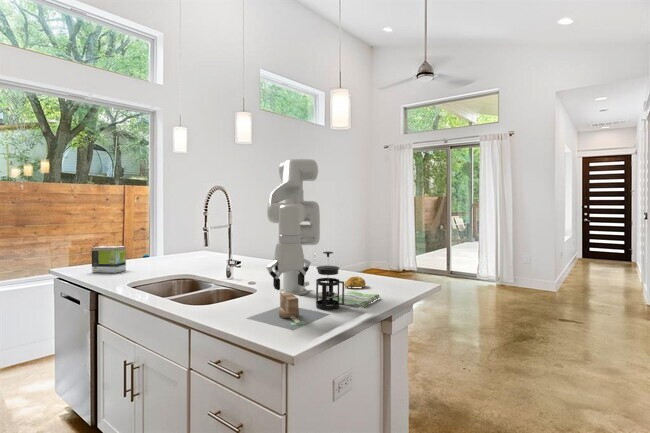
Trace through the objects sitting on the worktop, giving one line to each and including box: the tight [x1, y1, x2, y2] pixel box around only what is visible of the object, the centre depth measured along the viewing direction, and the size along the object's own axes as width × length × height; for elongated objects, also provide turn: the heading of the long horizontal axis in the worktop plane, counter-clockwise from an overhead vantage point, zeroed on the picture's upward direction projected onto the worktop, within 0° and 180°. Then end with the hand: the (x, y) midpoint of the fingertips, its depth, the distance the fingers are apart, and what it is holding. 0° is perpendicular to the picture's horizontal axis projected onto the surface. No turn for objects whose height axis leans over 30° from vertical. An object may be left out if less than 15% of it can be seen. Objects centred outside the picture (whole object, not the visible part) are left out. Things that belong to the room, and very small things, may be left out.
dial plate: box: [246, 306, 330, 331], centre depth 134 cm, size 21×21×2 cm
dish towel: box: [333, 290, 381, 309], centre depth 159 cm, size 17×23×4 cm
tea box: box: [91, 245, 127, 274], centre depth 221 cm, size 15×10×15 cm, turn 84°
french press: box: [315, 251, 345, 311], centre depth 145 cm, size 12×9×23 cm
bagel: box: [344, 276, 366, 288], centre depth 187 cm, size 10×11×5 cm
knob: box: [279, 292, 300, 323], centre depth 131 cm, size 15×7×7 cm, turn 23°
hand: (289, 287), depth 134 cm, fingers open, 9 cm apart
